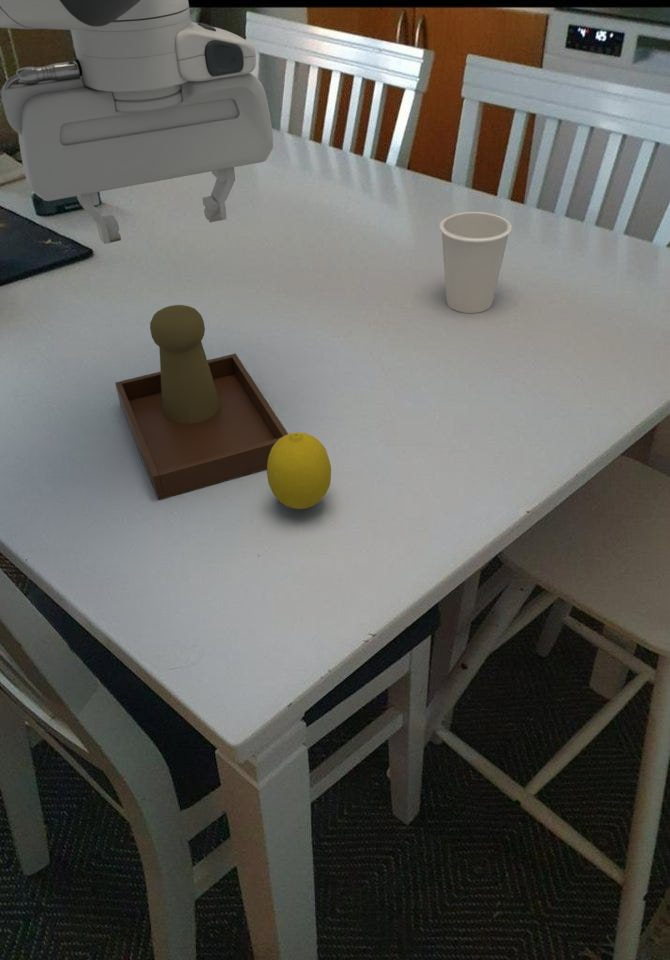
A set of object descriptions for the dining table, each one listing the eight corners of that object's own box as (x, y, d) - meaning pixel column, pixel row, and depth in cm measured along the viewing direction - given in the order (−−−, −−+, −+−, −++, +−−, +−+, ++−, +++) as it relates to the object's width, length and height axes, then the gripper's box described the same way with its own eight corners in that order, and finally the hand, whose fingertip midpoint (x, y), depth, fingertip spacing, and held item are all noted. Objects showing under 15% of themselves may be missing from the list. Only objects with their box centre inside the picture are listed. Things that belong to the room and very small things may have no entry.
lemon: (264, 524, 71) (256, 452, 66) (278, 484, 75) (271, 413, 70) (327, 530, 70) (322, 457, 65) (337, 489, 74) (334, 417, 69)
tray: (158, 500, 74) (152, 476, 72) (120, 404, 86) (114, 382, 84) (293, 461, 78) (291, 438, 76) (238, 375, 90) (235, 353, 88)
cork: (174, 388, 87) (156, 295, 80) (228, 393, 86) (214, 299, 79) (153, 421, 82) (132, 324, 75) (209, 426, 81) (193, 329, 74)
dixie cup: (454, 281, 106) (459, 206, 99) (513, 296, 102) (523, 219, 96) (423, 308, 100) (427, 230, 94) (485, 324, 97) (493, 244, 90)
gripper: (0, 81, 56) (50, 268, 65) (274, 45, 62) (285, 219, 71) (-13, 62, 60) (35, 240, 69) (244, 30, 67) (258, 196, 76)
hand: (164, 229), depth 70 cm, fingers open, 8 cm apart
